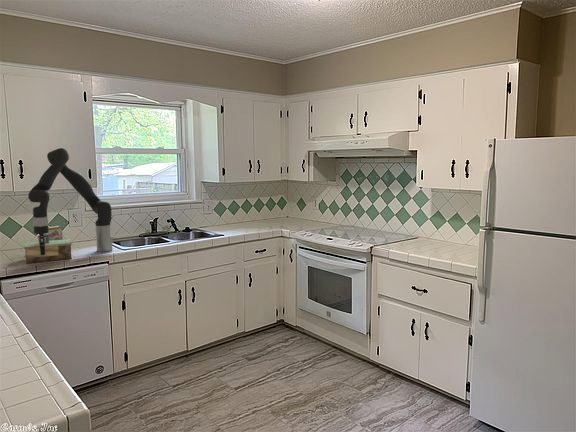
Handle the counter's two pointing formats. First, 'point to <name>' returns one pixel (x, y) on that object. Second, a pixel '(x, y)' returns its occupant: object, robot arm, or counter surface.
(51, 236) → the candy bar box
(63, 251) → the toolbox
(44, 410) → the counter surface
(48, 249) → the tan block
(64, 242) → the lid
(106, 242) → the robot arm
